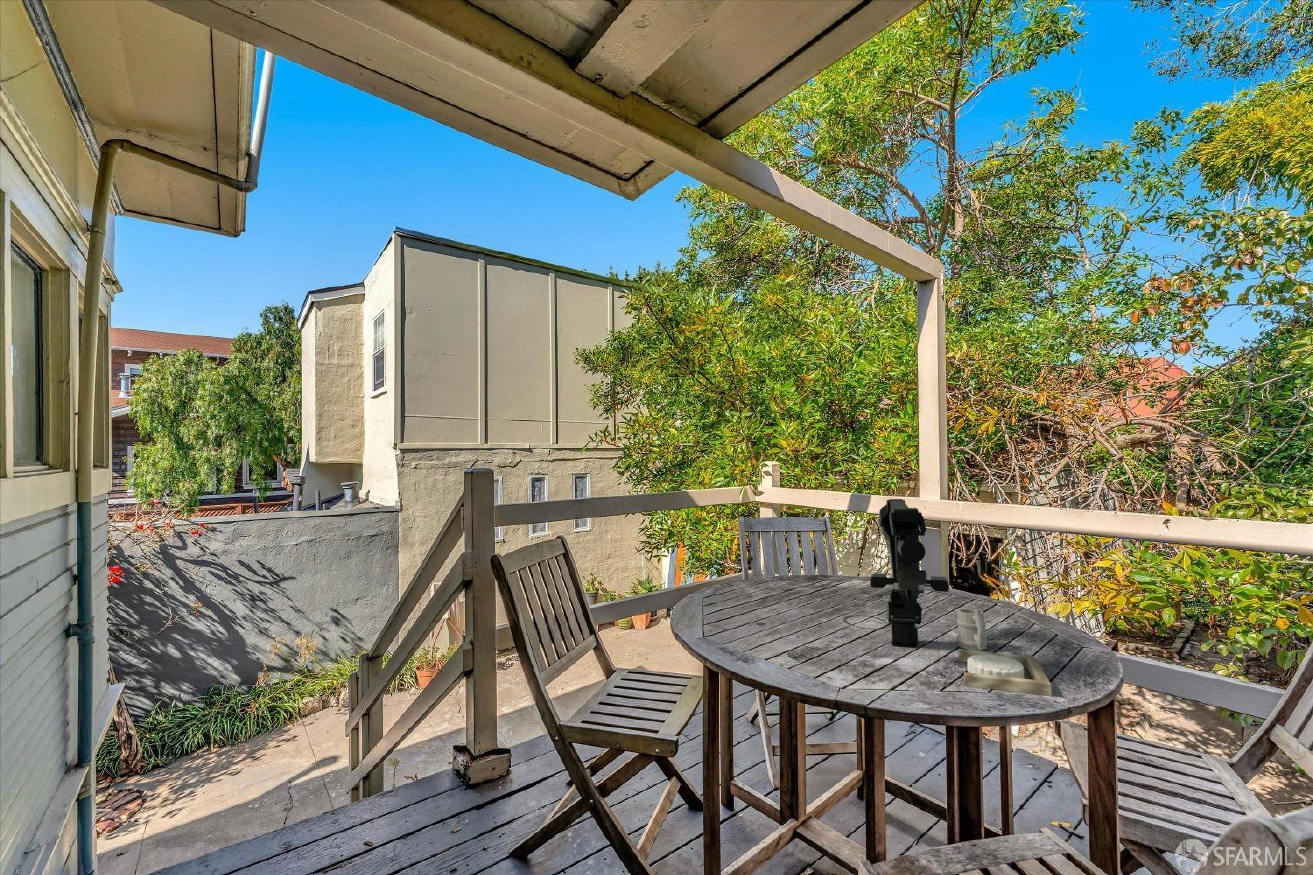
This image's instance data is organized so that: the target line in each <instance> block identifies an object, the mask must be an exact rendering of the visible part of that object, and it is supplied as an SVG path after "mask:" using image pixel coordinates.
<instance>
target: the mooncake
mask: <svg viewBox="0 0 1313 875" xmlns="http://www.w3.org/2000/svg"><path fill="white" fill-rule="evenodd" d="M966 663H967V673H976V674H985V675H994V676H1003V677H1012V678H1022V679H1025V668H1024V666H1023V665H1022V664H1021V663H1019V662H1017V661H1016V660H1014V659H1010V658H1008V657H1004V656H997V655H993V654H981V655H976V656H972V657H969V658H968V660H967V662H966Z"/></svg>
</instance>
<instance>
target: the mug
mask: <svg viewBox="0 0 1313 875" xmlns="http://www.w3.org/2000/svg"><path fill="white" fill-rule="evenodd" d="M956 624H957V635H956V642H957V646H958V647H959V648H962V650H972V651H985V650H987V646H988V642H989V641H988V639H987V637H986V626H987V624H986V621H985V615H984V611H983V610H982V609H979V608H964V607H963V608H959V609H957V619H956Z"/></svg>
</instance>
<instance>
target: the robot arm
mask: <svg viewBox="0 0 1313 875" xmlns="http://www.w3.org/2000/svg"><path fill="white" fill-rule="evenodd" d="M885 501H886V504H884V505H883V506H882V507H881V508H880V509H879V512H878V525H879V528H881V533H882V534H881V535H883V537H884V538H885V539H886V540H887V542H888V548H889V556H890V567H891V568H890V569H891V577H887V573H875V572H874V573H872V574H871V575H870V588H874V589H884V588H886V586H887V585H889V586H892V587H893V588H892V590H891V592H890V594H889V597H888V601H887V602H886V608H885V609H886V610H885V611H886V612H885V613H886V620H887V622H888V624H891V645H892V646H896V647H907V648H917V646H918V645H917V644H919V631H918V630H919V628H918V626H916V625H921V624H922V623H923V622H922V613H923V608H922V607H921V605H920V602H919V601H918V599H919V596H920V595H921V594H925V588H927V587H928V588H931V589H932V590H933V591H934V592H938V593H939V592H942V593H945V592H946V593H948V592H949V591H950V590H949V589H950V588H949V585H950V584H949V581H948V578H946V576H936V575H931V576H930V579H929V578H928V579H927V570H925V569H922V570H921V568H920V565H921V564H920V562H921V561H922V560H923V559H924V558H925V556H926V547H925V546H924V544H923V543H922V542H920V539H919V537H925V536H926V533H927V527H926V523H925V517H924V516H923V514H922V512H921V511H920V510H919V508H917V507H909V506H908V505H907V504H906V500H905V499H902V498H893V499H892V498H889V499H886V500H885Z"/></svg>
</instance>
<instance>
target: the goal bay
mask: <svg viewBox="0 0 1313 875" xmlns="http://www.w3.org/2000/svg"><path fill="white" fill-rule="evenodd" d="M981 654H993V655H997V656H1004V657H1008V658H1010V659H1014V660H1016V661H1017V662H1019V663H1021V664H1022V665H1023V666H1024V669H1027V670H1028V672H1029V675H1030V677H1031V679H1028V678H1024V679H1022V678H1012V677H1003V676H994V675H985V674H976V673H969V672H967V671H966V672H965V671H964V672H963V678H964V679H963V681H964V682H963V683H964V686H965V687H970V688H977V689H978V688H979V689H986V690H996V691H1004V692H1011V693H1012V692H1014V693H1019V694H1020V693H1021V694H1030V695H1038V696H1039V695H1040V696H1044V697H1045V696H1047V697H1052V683H1051V682H1050V680H1049V678H1048V677H1047V675H1046V674H1045V672H1044V670H1043V669H1042V667H1041V665H1040V664H1039V662H1038V660H1037V658H1036V657H1035V655H1033V656H1032V655H1025V654H1024V655H1022V654H1014V653H1003V652H1002V653H1001V652H991V651H984V650H982V651H972V650H966V649H963V648H962V649H960V648H959V649H958V659H959V662H962V663H963V662H964V663H967V660H968V658H969V657H972V656H976V655H981Z"/></svg>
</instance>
